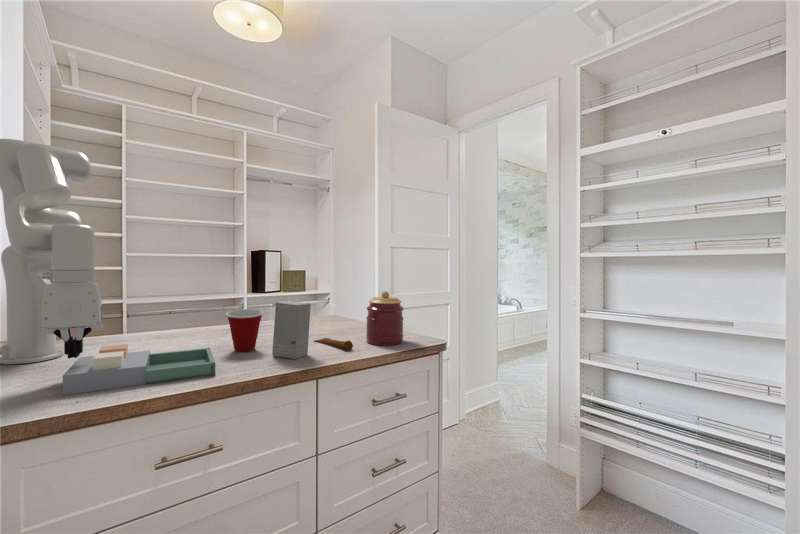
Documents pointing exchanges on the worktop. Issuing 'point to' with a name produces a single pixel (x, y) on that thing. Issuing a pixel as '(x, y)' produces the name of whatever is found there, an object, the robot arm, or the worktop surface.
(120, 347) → the tile terracotta
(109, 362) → the tile cream
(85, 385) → the grey board
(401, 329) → the canister
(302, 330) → the skincare box
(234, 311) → the plastic cup
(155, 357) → the tray
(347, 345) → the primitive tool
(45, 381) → the worktop surface
